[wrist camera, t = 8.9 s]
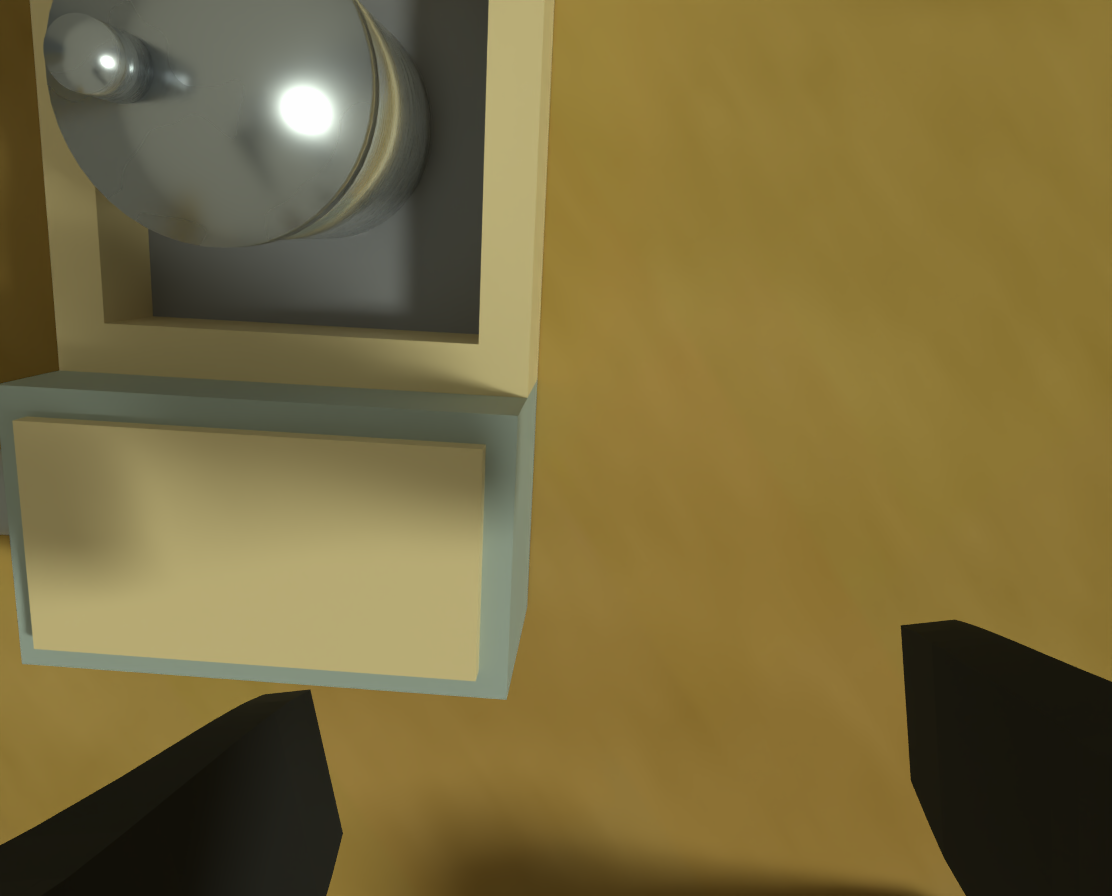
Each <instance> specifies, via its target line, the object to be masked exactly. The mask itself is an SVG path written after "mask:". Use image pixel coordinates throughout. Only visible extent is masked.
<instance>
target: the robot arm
mask: <svg viewBox="0 0 1112 896" xmlns="http://www.w3.org/2000/svg"><path fill="white" fill-rule="evenodd" d="M901 635H902V650H903V666H904V681H905V696H906V712H907V727H908V743H909V758H910V773H911V782H912V784H913V787H914V789H915V791H916V794H917V796H918V799H919V801H920V804H921V806H922V808H923V811H924V813H925V816H926V818H927V820H928V823H929V825H930V827H931V830H932V832H933V834H934V836H935V839H936V841H937V843H938V845H939V848H940V850H941V852H942V854H943V857H944V859H945V860H946V862H947V864H948V866H949V867H950V869H951V871H952V873H953V874H954V876H955V878H956V880H957V881H958V883H959V885H960V886H961V888H962V890H963V891H964V893H965V895H966V896H1112V682H1111V681H1108V680H1106V679H1104V678H1101V677H1099V676H1096V675H1094V674H1091V673H1089V672H1086V671H1084V670H1081V669H1079V668H1077V667H1074V666H1072V665H1069V664H1067V663H1064V662H1062V661H1060V660H1057V659H1055V658H1053V657H1050V656H1048V655H1045V654H1043V653H1041V652H1038V651H1036V650H1034V649H1031V648H1029V647H1026V646H1024V645H1022V644H1019V643H1017V642H1015V641H1012V640H1010V639H1007V638H1005V637H1003V636H1000V635H998V634H995V633H993V632H990V631H987V630H985V629H982V628H980V627H977V626H974V625H971V624H968V623H965V622H961V621H958V620H947V621H938V622H929V623H920V624H910V625H901ZM342 835H343V832H342V828H341V823H340V819H339V814H338V810H337V806H336V801H335V797H334V792H333V788H332V783H331V779H330V775H329V770H328V766H327V761H326V757H325V753H324V748H323V744H322V739H321V735H320V730H319V726H318V722H317V717H316V713H315V708H314V704H313V699H312V695H311V691H310V690H302V691H293V692H283V693H274V694H265V695H262V696H259V697H257V698H255V699H252V700H250V701H248V702H246V703H244V704H242V705H240V706H238V707H236V708H234V709H233V710H231V711H229V712H227V713H225V714H224V715H222V716H220V717H218V718H217V719H215V720H213V721H212V722H210V723H208V724H207V725H205V726H203V727H202V728H200V729H198V730H197V731H195V732H194V733H192V734H190V735H189V736H187V737H185V738H184V739H182V740H180V741H179V742H177V743H176V744H174V745H172V746H171V747H169V748H167V749H166V750H164V751H163V752H161V753H159V754H158V755H156V756H155V757H153V758H151V759H150V760H148V761H146V762H145V763H143V764H142V765H140V766H138V767H137V768H135V769H133V770H132V771H130V772H129V773H127V774H125V775H124V776H122V777H120V778H119V779H117V780H115V781H113V782H112V783H110V784H108V785H107V786H105V787H103V788H101V789H100V790H98V791H96V792H94V793H93V794H91V795H89V796H88V797H86V798H84V799H82V800H81V801H79V802H77V803H75V804H74V805H72V806H70V807H69V808H67V809H65V810H63V811H62V812H60V813H58V814H56V815H55V816H53V817H51V818H50V819H48V820H46V821H44V822H43V823H41V824H39V825H37V826H36V827H34V828H32V829H30V830H28V831H26V832H24V833H23V834H21V835H19V836H17V837H15V838H13V839H11V840H9V841H8V842H6V843H4V844H2V845H0V896H326V894H327V891H328V888H329V884H330V881H331V877H332V874H333V870H334V866H335V862H336V858H337V854H338V850H339V846H340V842H341V838H342Z"/></svg>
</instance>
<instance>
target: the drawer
mask: <svg viewBox="0 0 1112 896" xmlns="http://www.w3.org/2000/svg"><path fill="white" fill-rule="evenodd" d="M358 1H359V2H360V3H361V4H362V5H363V6H364V7H365V8H366V9H367V10H368V11H369V12H370V13H371V14H372V15H373V16H374V17H375V18H376V19H377V20H378V21H379V22H380V23H381V24H382V25H383V26H384V27H385V28H386V29H387V30H388V31H389V32H390V33H391V34H392V35H393V36H394V37H395V38H396V39H397V40H398V41H399V42H400V43H401V44H402V46H403V47H404V48H405V49H406V50H407V52H408V53H409V55H410V56H411V58H412V59H413V61H414V62H415V64H416V66H417V68H418V70H419V72H420V74H421V76H422V78H423V81H424V84H425V87H426V90H427V93H428V97H429V102H430V106H431V114H432V142H431V149H430V155H429V158H428V162H427V165H426V169H425V171H424V173H423V176H422V178H421V180H420V182H419V184H418V186H417V188H416V189H415V191H414V193H413V194H412V195H411V197H410V198H409V199H408V201H407V202H406V203H405V204H404V206H403V207H402V208H401V209H399V210H398V211H397V212H396V213H395V214H394V215H393V216H392V217H390V218H389V219H388V220H386V221H385V222H384V223H382V224H380V225H378V226H377V227H375V228H373V229H371V230H369V231H366V232H363V233H361V234H358V235H354V236H349V237H345V238H333V239H293V240H278V241H276V242H271V243H267V244H262V245H258V246H246V247H229V248H221V247H204V246H199V245H194V244H188V243H183V242H180V241H177V240H174V239H171V238H168V237H165V236H163V235H161V234H159V233H157V232H154V231H152V230H150V229H148V228H146V227H144V226H143V225H141V224H139V223H138V222H136V221H135V220H133V219H132V218H130V217H129V216H127V215H126V214H124V213H123V212H122V211H121V210H119V209H118V208H117V207H116V206H115V205H113V204H112V203H111V202H110V201H109V200H108V199H107V198H106V197H105V196H104V195H103V194H102V193H101V192H100V191H99V190H98V189H97V188H96V187H95V186H94V185H93V184H92V182H91V181H90V180H89V178H88V177H87V176H86V174H85V173H84V172H83V170H82V169H81V168H80V166H79V165H78V163H77V161H76V160H75V158H74V156H73V155H72V153H71V151H70V150H69V148H68V146H67V144H66V142H65V140H64V137H63V135H62V133H61V131H60V128H59V126H58V123H57V120H56V117H55V114H54V111H53V108H52V105H51V100H50V95H49V90H48V85H47V79H46V67H45V59H44V53H43V43H44V37H45V34H46V30H47V24H48V18H49V12H50V9H51V5H52V2H53V0H30V10H31V22H32V35H33V47H34V60H35V72H36V85H37V97H38V110H39V122H40V134H41V147H42V159H43V172H44V184H45V197H46V209H47V222H48V234H49V246H50V259H51V271H52V284H53V296H54V309H55V321H56V333H57V346H58V358H59V371H55V372H50V373H46V374H41V375H37V376H32V377H28V378H23V379H19V380H14V381H10V382H5V383H0V443H1V450H0V535H10V545H11V555H12V565H13V576H14V586H15V596H16V606H17V617H18V627H19V637H20V647H21V657H22V664H33V665H46V666H60V667H73V668H87V669H100V670H114V671H127V672H141V673H154V674H168V675H181V676H195V677H208V678H222V679H235V680H249V681H262V682H276V683H289V684H303V685H316V686H330V687H343V688H357V689H370V690H384V691H397V692H411V693H424V694H438V695H451V696H465V697H478V698H491V699H505V700H507V695H508V691H509V686H510V682H511V677H512V673H513V668H514V664H515V659H516V655H517V650H518V646H519V641H520V637H521V632H522V628H523V623H524V619H525V614H526V610H527V598H528V576H529V553H530V531H531V509H532V487H533V465H534V443H535V420H536V398H537V376H538V354H539V332H540V309H541V287H542V265H543V243H544V221H545V198H546V176H547V154H548V132H549V110H550V87H551V65H552V43H553V21H554V0H358Z"/></svg>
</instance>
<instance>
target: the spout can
mask: <svg viewBox="0 0 1112 896" xmlns="http://www.w3.org/2000/svg"><path fill="white" fill-rule="evenodd" d="M43 53H44V59H45V67H46V79H47V85H48V90H49V95H50V100H51V105H52V108H53V111H54V114H55V117H56V120H57V123H58V126H59V128H60V131H61V133H62V135H63V137H64V140H65V142H66V144H67V146H68V148H69V150H70V151H71V153H72V155H73V156H74V158H75V160H76V161H77V163H78V165H79V166H80V168H81V169H82V170H83V172H84V173H85V174H86V176H87V177H88V178H89V180H90V181H91V182H92V184H93V185H94V186H95V187H96V188H97V189H98V190H99V191H100V192H101V193H102V194H103V195H104V196H105V197H106V198H107V199H108V200H109V201H110V202H111V203H112V204H113V205H115V206H116V207H117V208H118V209H119V210H121V211H122V212H123V213H124V214H126V215H127V216H129V217H130V218H132V219H133V220H135V221H136V222H138V223H139V224H141V225H143V226H144V227H146V228H148V229H150V230H152V231H154V232H157V233H159V234H161V235H163V236H165V237H168V238H171V239H174V240H177V241H180V242H183V243H188V244H194V245H199V246H204V247H221V248H229V247H246V246H258V245H262V244H267V243H271V242H276V241H278V240H293V239H333V238H345V237H349V236H354V235H358V234H361V233H363V232H366V231H369V230H371V229H373V228H375V227H377V226H378V225H380V224H382V223H384V222H385V221H386V220H388V219H389V218H390V217H392V216H393V215H394V214H395V213H396V212H397V211H398V210H399V209H401V208H402V207H403V206H404V204H405V203H406V202H407V201H408V199H409V198H410V197H411V195H412V194H413V193H414V191H415V189H416V188H417V186H418V184H419V182H420V180H421V178H422V176H423V173H424V171H425V169H426V165H427V162H428V158H429V155H430V149H431V142H432V114H431V106H430V102H429V97H428V93H427V90H426V87H425V84H424V81H423V78H422V76H421V74H420V72H419V70H418V68H417V66H416V64H415V62H414V61H413V59H412V58H411V56H410V55H409V53H408V52H407V50H406V49H405V48H404V47H403V46H402V44H401V43H400V42H399V41H398V40H397V39H396V38H395V37H394V36H393V35H392V34H391V33H390V32H389V31H388V30H387V29H386V28H385V27H384V26H383V25H382V24H381V23H380V22H379V21H378V20H377V19H376V18H375V17H374V16H373V15H372V14H371V13H370V12H369V11H368V10H367V9H366V8H365V7H364V6H363V5H362V4H361V3H360V2H359V1H358V0H53V2H52V5H51V9H50V12H49V18H48V24H47V30H46V34H45V37H44V43H43Z"/></svg>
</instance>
